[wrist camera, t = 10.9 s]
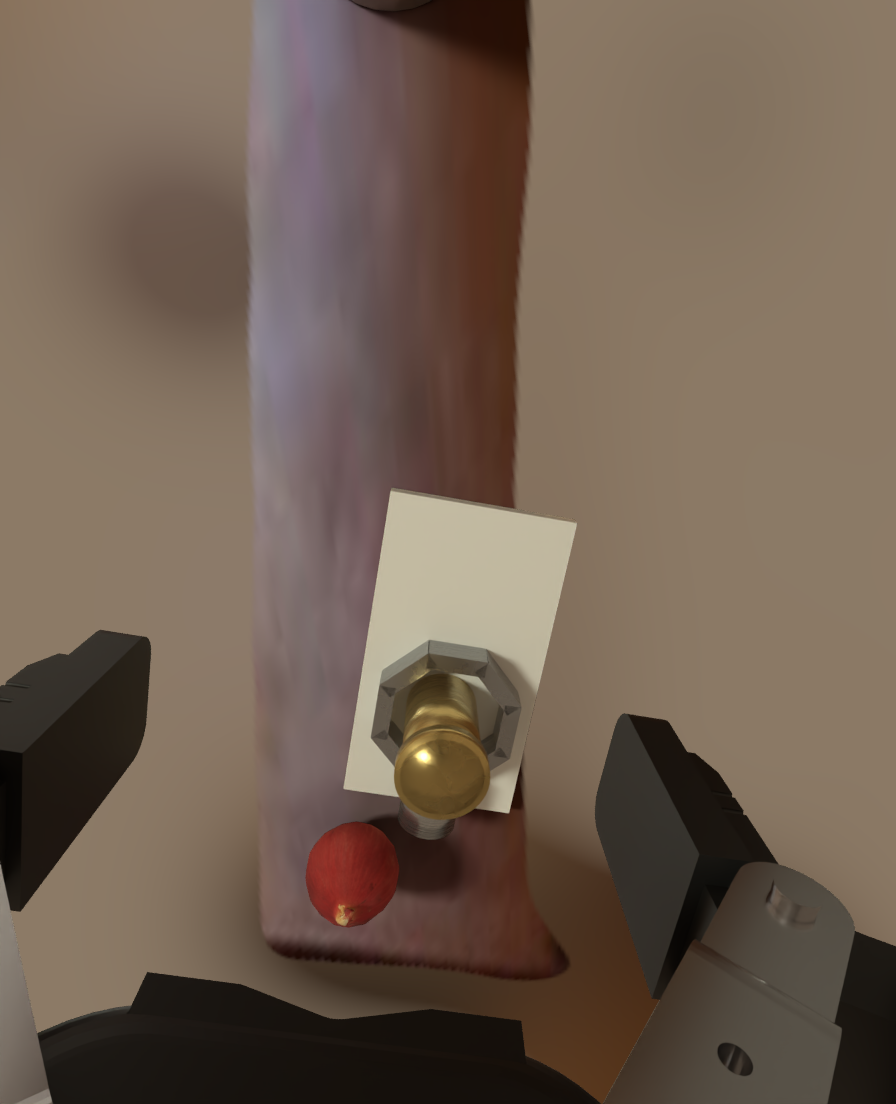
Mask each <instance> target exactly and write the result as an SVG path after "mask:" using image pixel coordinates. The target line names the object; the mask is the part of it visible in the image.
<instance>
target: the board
mask: <svg viewBox="0 0 896 1104" xmlns="http://www.w3.org/2000/svg"><path fill="white" fill-rule="evenodd" d="M576 527H577V522H576V521H575V520H574V519H570V518H564V517H558V516H552V515H547V514H541V513H535V512H529V511H524V510H518V509H512V508H506V507H501V506H495V505H489V504H483V503H478V502H472V501H466V500H460V499H455V498H449V497H443V496H437V495H432V494H426V493H420V492H414V491H409V490H403V489H397V488H392V489H391V493H390V499H389V505H388V512H387V518H386V524H385V531H384V537H383V543H382V549H381V556H380V562H379V568H378V575H377V581H376V587H375V594H374V600H373V606H372V612H371V619H370V625H369V631H368V638H367V644H366V650H365V657H364V663H363V669H362V675H361V682H360V688H359V694H358V701H357V707H356V713H355V719H354V726H353V732H352V738H351V745H350V751H349V757H348V764H347V770H346V776H345V782H344V789H348V790H354V791H361V792H368V793H375V794H382V795H388V796H395V797H399V796H398V794H397V791H396V789H395V784H394V769H395V767H394V766H393V765H392V763H391V762H390V761H389V760H388V758H387V757H386V756H385V755H384V754H383V752H382V751H381V750H380V749H379V748H378V746H377V745H376V744H375V743H374V741H373V740H372V739H371V732H372V726H373V720H374V714H375V708H376V702H377V696H378V690H379V684H380V679H381V673H382V670H383V669H385V668H386V667H388V666H389V665H391V664H392V663H394V662H395V661H397V660H399V659H400V658H402V657H403V656H405V655H406V654H408V653H409V652H411V651H412V650H414V649H415V648H417V647H418V646H420V645H422V644H423V643H425V642H426V641H428V640H435V641H441V642H447V643H453V644H460V645H466V646H472V647H478V648H484V649H487V650H488V652H489V653H490V654H491V656H492V657H493V658H494V660H495V661H496V663H497V664H498V665H499V667H500V668H501V669H502V671H503V672H504V673H505V675H506V676H507V677H508V679H509V680H510V681H511V683H512V684H513V685H514V687H515V688H516V690H517V691H518V694H519V698H520V703H521V707H522V708H521V713H520V717H519V721H518V726H517V730H516V734H515V739H514V743H513V747H512V752H511V756H510V759H509V760H507V761H506V762H504V763H503V764H501V765H499V766H498V767H496V768H494V769H493V770H491V771H490V785H489V789H488V791H487V794H486V796H485V797H484V799H483V800H482V801H481V803H480V804H479V805H478V806H477V807H476V809H483V810H490V811H497V812H503V813H509V811H510V807H511V802H512V798H513V794H514V790H515V786H516V781H517V777H518V773H519V769H520V764H521V760H522V756H523V752H524V747H525V743H526V739H527V735H528V730H529V726H530V722H531V718H532V714H533V709H534V705H535V701H536V696H537V692H538V688H539V684H540V680H541V675H542V671H543V667H544V662H545V658H546V654H547V650H548V646H549V641H550V637H551V633H552V629H553V624H554V620H555V616H556V612H557V608H558V603H559V599H560V595H561V591H562V586H563V582H564V578H565V573H566V569H567V565H568V561H569V557H570V552H571V548H572V544H573V539H574V535H575V531H576ZM433 674H450V675H453V676H456V677H458V678H460V679H462V680H463V681H465V682H466V683H467V684H468V685H469V686H470V688H471V689H472V691H473V693H474V695H475V698H476V705H477V714H478V722H479V731H480V739H481V740H483V739H485V738H486V737H488V736H490V735H491V734H493V730H494V726H495V721H496V717H497V712H498V707H499V704H498V702H497V701H496V700H495V698H494V697H493V696H492V694H491V693H490V692H489V690H488V689H487V688H486V686H485V685H484V684H483V683H482V681H481V680H480V679H479V677H475V676H469V675H463V674H456V673H450V672H444V671H437V670H431V671H430V672H428V673H427V674H425V675H424V676H422V677H421V678H419V679H417V680H416V681H414V682H413V683H411V684H410V685H408V686H407V687H405V688H404V689H402V690H400V691H399V692H397V693H396V694H395V697H394V703H393V708H392V714H391V719H392V721H393V722H394V723H395V724H396V725H397V727H398V728H399V729H400V730H401V732H402V733H403V734H404V724H405V713H406V702H407V697H408V694H409V692H410V690H411V689H412V687H413V686H414V685H415V684H416V683H417V682H418V681H420V680H421V679H423V678H425V677H427V676H429V675H433Z"/></svg>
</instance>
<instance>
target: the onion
mask: <svg viewBox="0 0 896 1104" xmlns="http://www.w3.org/2000/svg"><path fill="white" fill-rule="evenodd" d="M398 874H399V865H398V860H397V856H396V852H395V847H394V845H393V844H392V843H391V842H390V841H389V839H388V838H387V837H386V835H385V834H384V833H383V832H382V831H381V830H379V829H378V828H376V827H374V826H373V825H371V824H366V823H361V822H351V823H345V824H342V825H340V826H338V827H336V828H334V829H332V830H330V831H328V832H326V833H325V834H324V835H323V836H322V837H321V838H320V839H319V841H318V842H317V843H316V844H315V845H314V847H313V849H312V850H311V852H310V854H309V859H308V864H307V870H306V885H307V889H308V893H309V897H310V900H311V902H312V904H313V905H314V907H315V908H316V909H317V911H318V912H319V914H320V915H321V916H323V917H324V918H325V919H327V920H328V921H330V922H331V923H333V924H334V925H337V926H342V927H353V926H358V925H363V924H366V923H367V922H368V921H370V920H371V919H372V918H373V917H375V916H376V915H377V914H378V913H380V912H381V911H383V910H384V908H385V907H386V906H387V904H388V903H389V901H390V900H391V899H392V897H393V895H394V893H395V891H396V885H397V880H398Z"/></svg>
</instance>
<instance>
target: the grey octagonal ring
mask: <svg viewBox="0 0 896 1104" xmlns="http://www.w3.org/2000/svg"><path fill="white" fill-rule="evenodd" d="M431 670H437V671H444V672H450V673H456V674H463V675H469V676H475V677H479V679H480V680H481V681H482V683H483V684H484V685H485V686H486V688H487V689H488V690H489V692H490V693H491V694H492V696H493V697H494V698H495V700H496V701H497V702H498V704H499V707H498V712H497V717H496V721H495V726H494V730H493V734H491V735H490V736H488V737H486V738H485V739H483V740H481V744H482V745H483V747H484V748H485V750H486V753H487V756H488V760H489V767H490V771H491V770H493V769H494V768H496V767H498V766H499V765H501V764H503V763H504V762H506V761H507V760H509V759H510V756H511V752H512V747H513V743H514V739H515V734H516V730H517V726H518V721H519V717H520V713H521V708H522V707H521V703H520V698H519V694H518V691H517V690H516V688H515V687H514V685H513V684H512V683H511V681H510V680H509V679H508V677H507V676H506V675H505V673H504V672H503V671H502V669H501V668H500V667H499V665H498V664H497V663H496V661H495V660H494V658H493V657H492V656H491V654H490V653H489V652H488V650H487V649H484V648H478V647H472V646H466V645H460V644H453V643H447V642H441V641H435V640H428V641H426V642H425V643H423V644H422V645H420V646H418V647H417V648H415V649H414V650H412V651H411V652H409V653H408V654H406V655H405V656H403V657H402V658H400V659H399V660H397V661H395V662H394V663H392V664H391V665H389V666H388V667H386V668H385V669H383V670H382V673H381V679H380V684H379V690H378V696H377V702H376V708H375V714H374V720H373V726H372V732H371V739H372V740H373V741H374V743H375V744H376V745H377V746H378V748H379V749H380V750H381V751H382V752H383V754H384V755H385V756H386V757H387V758H388V760H389V761H390V762H391V763H392V765H393V766H394V767H395V761H396V756H397V753H398V751H399V749H400V747H401V745H402V744H403V735H404V734H403V733H402V732H401V730H400V729H399V728H398V727H397V725H396V724H395V723H394V722H393V721H392V719H391V714H392V708H393V703H394V697H395V694H396V693H397V692H399V691H400V690H402V689H404V688H405V687H407V686H408V685H410V684H411V683H413V682H414V681H416V680H417V679H419V678H421V677H422V676H424V675H425V674H427V673H428V672H430V671H431ZM455 819H456V818H454V819H448V820H436V819H430V818H426V817H423V816H421V815H418V814H417V813H415V812H413V811H412V810H410V809H409V808H408V807H407V806H406V805H405V804H404V803H403V802H402V800H401V802H400V807H399V812H398V821H399V824H400V825H401V827H402V828H403V829H404V830H405V831H406V832H408V833H409V834H411V835H413V836H415V837H418V838H422V839H428V840H435V839H441V838H444V837H446V836H447V835H449V834H450V833H451V832H452V830H453V828H454V824H455Z"/></svg>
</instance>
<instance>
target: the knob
mask: <svg viewBox="0 0 896 1104" xmlns="http://www.w3.org/2000/svg"><path fill="white" fill-rule="evenodd" d="M394 784H395V789H396V791H397V794H398V796H399V797H400V799H401V800H402V802H403V803H404V804H405V805H406V806H407V807H408V808H409V809H410V810H412V811H413V812H415V813H417V814H418V815H421V816H423V817H426V818H430V819H436V820H448V819H454V818H457V817H460V816H463V815H465V814H467V813H469V812H471V811H472V810H473V809H475V808H476V807H477V806H478V805H479V804H480V803H481V801H482V800H483V799H484V797H485V796H486V794H487V791H488V789H489V785H490V767H489V760H488V756H487V753H486V750H485V748H484V747H483V745H482V744H481V739H480V731H479V722H478V714H477V705H476V698H475V695H474V693H473V691H472V689H471V688H470V686H469V685H468V684H467V683H466V682H465V681H463V680H462V679H460V678H458V677H456V676H453V675H450V674H433V675H429V676H427V677H425V678H423V679H421V680H420V681H418V682H417V683H416V684H415V685H414V686H413V687H412V689H411V690H410V692H409V694H408V697H407V702H406V713H405V724H404V735H403V744H402V745H401V747H400V749H399V751H398V753H397V756H396V761H395V769H394Z"/></svg>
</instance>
